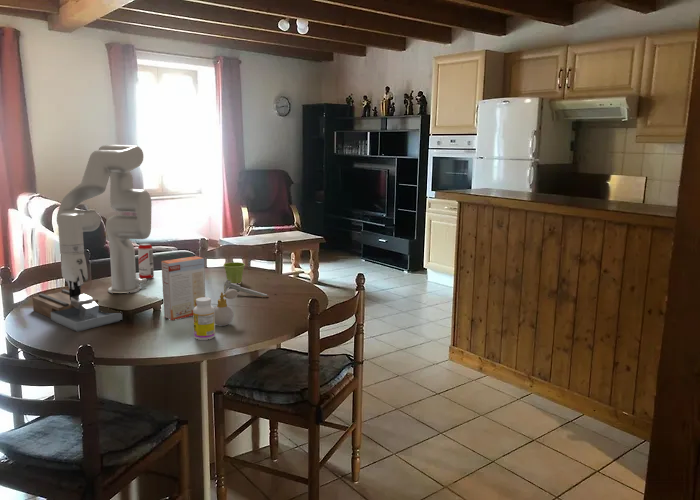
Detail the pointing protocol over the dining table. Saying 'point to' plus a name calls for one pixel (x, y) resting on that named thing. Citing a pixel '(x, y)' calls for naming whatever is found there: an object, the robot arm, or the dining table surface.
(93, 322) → the tray
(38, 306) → the slot board
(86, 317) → the chip
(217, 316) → the perfume bottle
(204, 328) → the supplement bottle
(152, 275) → the beer can
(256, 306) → the dining table surface
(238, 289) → the caliper
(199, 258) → the cracker box
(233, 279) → the plant pot
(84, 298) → the chip
